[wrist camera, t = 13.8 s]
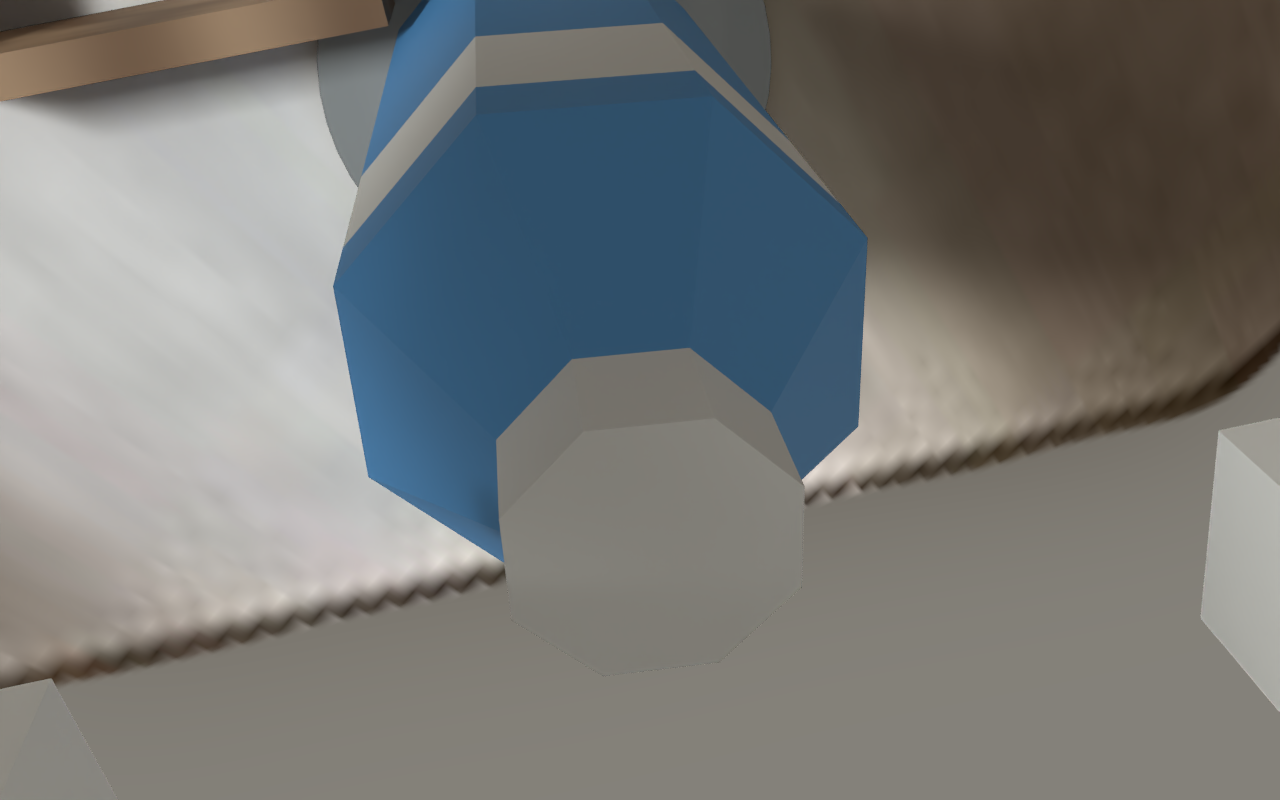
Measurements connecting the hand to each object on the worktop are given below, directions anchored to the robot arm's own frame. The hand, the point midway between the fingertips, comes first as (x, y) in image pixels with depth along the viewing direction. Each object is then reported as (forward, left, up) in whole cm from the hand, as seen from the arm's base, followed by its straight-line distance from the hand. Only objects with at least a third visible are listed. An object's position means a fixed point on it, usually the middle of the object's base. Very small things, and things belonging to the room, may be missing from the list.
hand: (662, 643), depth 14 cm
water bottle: (0, 0, -27) cm, 27 cm away
